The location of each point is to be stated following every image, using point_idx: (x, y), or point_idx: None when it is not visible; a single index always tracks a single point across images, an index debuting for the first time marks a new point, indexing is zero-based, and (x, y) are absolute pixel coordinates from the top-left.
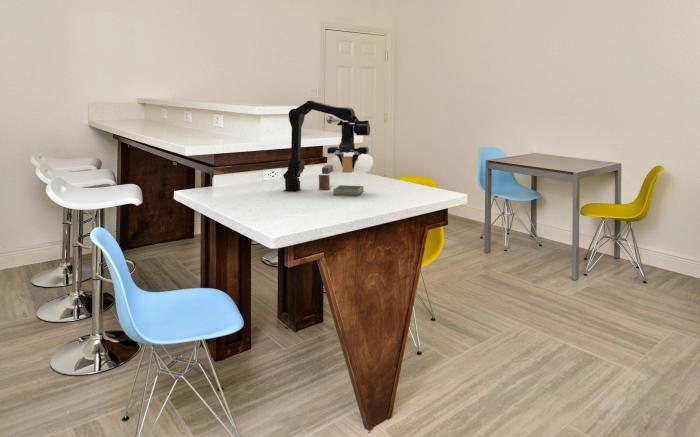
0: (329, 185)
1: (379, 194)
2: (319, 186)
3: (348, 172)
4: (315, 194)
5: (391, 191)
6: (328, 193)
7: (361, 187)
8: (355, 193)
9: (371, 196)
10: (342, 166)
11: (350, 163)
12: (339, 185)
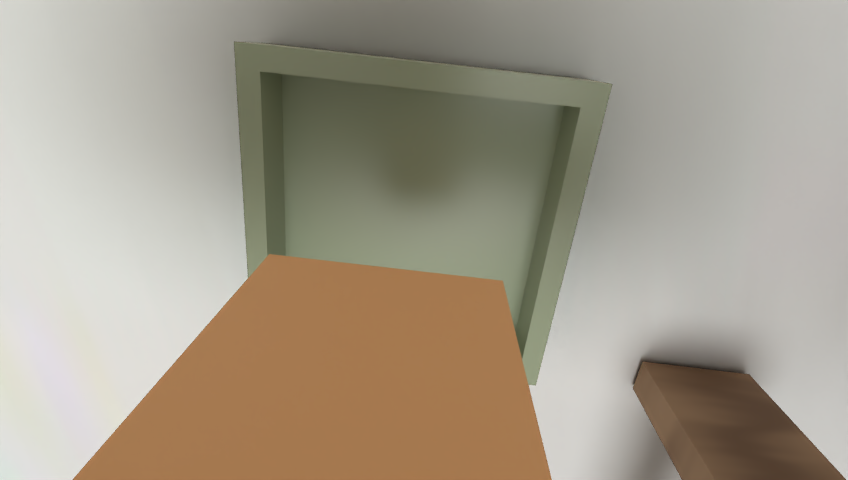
0: (651, 415)
1: (73, 185)
2: (765, 398)
3: (349, 263)
4: (821, 121)
5: (25, 341)
6: (648, 199)
7: (250, 260)
8: (292, 46)
9: (114, 53)
10: (525, 383)
11: (159, 440)
12: (535, 368)
